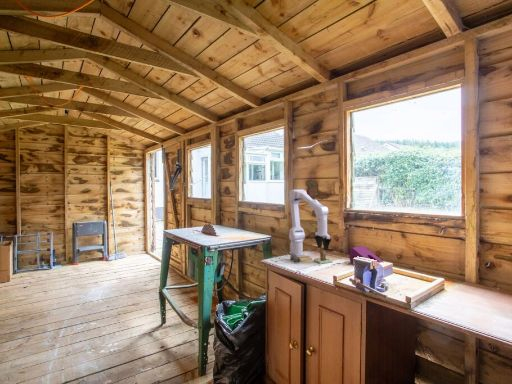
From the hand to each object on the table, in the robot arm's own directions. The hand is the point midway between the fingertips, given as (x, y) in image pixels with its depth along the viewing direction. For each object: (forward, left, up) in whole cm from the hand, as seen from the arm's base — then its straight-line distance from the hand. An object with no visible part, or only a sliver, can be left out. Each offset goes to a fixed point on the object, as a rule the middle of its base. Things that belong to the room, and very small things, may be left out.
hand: (322, 248), depth 178 cm
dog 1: (-11, -15, -8) cm, 20 cm away
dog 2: (-6, -15, -8) cm, 18 cm away
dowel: (0, 0, -7) cm, 7 cm away
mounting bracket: (+16, +19, -8) cm, 27 cm away
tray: (0, 0, -8) cm, 8 cm away
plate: (-8, -9, -8) cm, 15 cm away
